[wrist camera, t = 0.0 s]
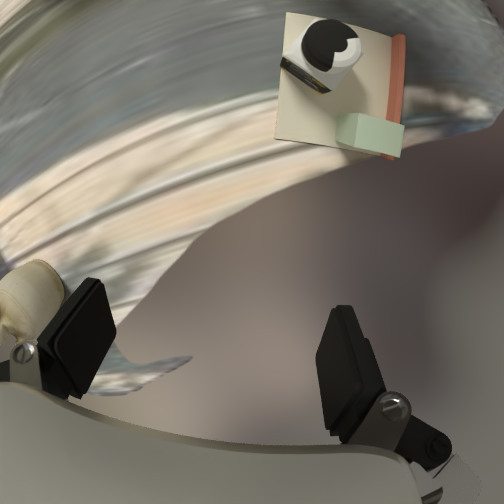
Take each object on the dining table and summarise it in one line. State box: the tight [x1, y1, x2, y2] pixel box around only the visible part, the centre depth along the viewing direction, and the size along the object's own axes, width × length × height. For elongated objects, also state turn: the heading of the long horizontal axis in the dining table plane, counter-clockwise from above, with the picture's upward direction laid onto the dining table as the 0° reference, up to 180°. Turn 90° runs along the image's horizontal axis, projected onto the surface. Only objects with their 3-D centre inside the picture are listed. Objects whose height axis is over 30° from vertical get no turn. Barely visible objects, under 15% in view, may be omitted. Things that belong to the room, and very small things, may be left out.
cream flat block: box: [274, 12, 406, 161], centre depth 30 cm, size 20×17×3 cm
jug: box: [0, 259, 64, 347], centre depth 39 cm, size 15×16×25 cm
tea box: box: [335, 113, 404, 157], centre depth 30 cm, size 4×6×9 cm, turn 85°
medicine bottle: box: [280, 18, 364, 95], centre depth 25 cm, size 7×7×12 cm
